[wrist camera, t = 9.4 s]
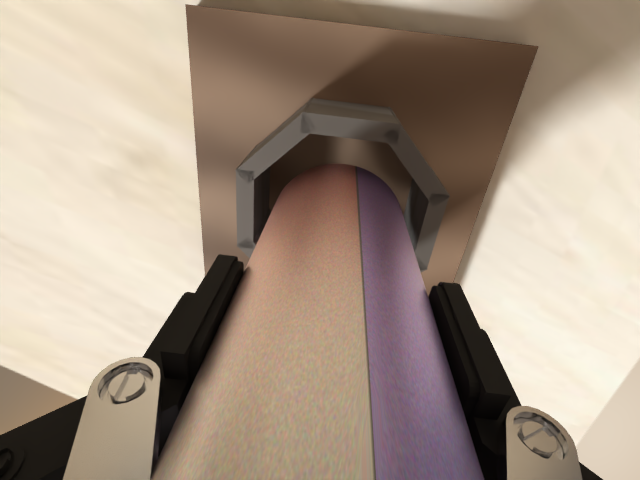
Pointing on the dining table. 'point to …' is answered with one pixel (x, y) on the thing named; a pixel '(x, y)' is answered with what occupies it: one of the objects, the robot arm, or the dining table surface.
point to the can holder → (347, 122)
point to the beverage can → (325, 353)
